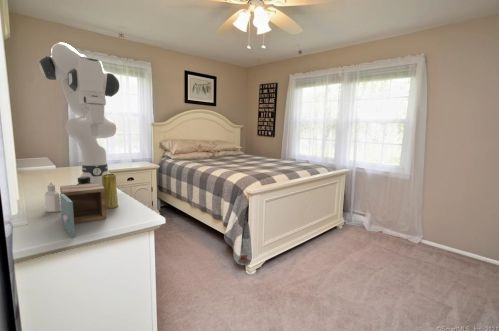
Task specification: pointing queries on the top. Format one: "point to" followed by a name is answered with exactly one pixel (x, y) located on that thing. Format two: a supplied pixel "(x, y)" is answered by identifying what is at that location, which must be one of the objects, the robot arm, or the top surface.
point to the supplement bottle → (84, 180)
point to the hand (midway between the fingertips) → (94, 135)
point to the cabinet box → (86, 201)
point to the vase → (110, 190)
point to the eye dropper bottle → (52, 199)
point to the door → (67, 214)
